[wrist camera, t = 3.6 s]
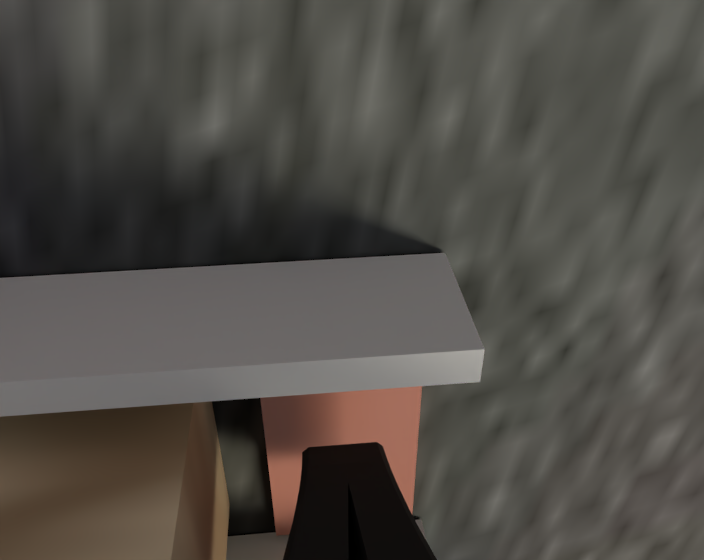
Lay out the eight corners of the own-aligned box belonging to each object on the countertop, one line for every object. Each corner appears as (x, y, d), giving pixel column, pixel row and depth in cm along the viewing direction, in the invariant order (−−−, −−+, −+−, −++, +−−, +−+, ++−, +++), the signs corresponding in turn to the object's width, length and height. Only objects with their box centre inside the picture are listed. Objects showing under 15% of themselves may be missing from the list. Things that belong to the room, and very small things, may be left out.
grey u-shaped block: (445, 253, 11) (485, 349, 9) (420, 535, 15) (442, 643, 13) (-397, 300, 10) (-571, 421, 8) (-165, 587, 14) (-239, 713, 12)
